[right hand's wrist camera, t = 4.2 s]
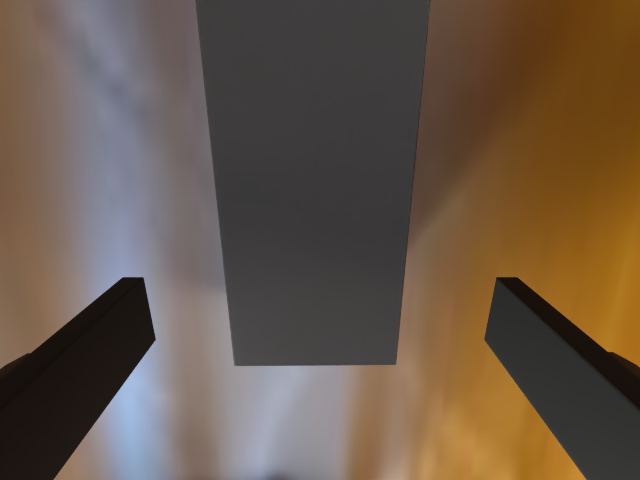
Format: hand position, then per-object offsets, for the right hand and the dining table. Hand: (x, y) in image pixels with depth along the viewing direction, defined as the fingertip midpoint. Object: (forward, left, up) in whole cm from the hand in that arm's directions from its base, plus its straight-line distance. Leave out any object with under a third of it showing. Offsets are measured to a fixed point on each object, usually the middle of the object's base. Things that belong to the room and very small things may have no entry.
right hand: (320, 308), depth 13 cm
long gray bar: (-2, +20, -11) cm, 23 cm away
